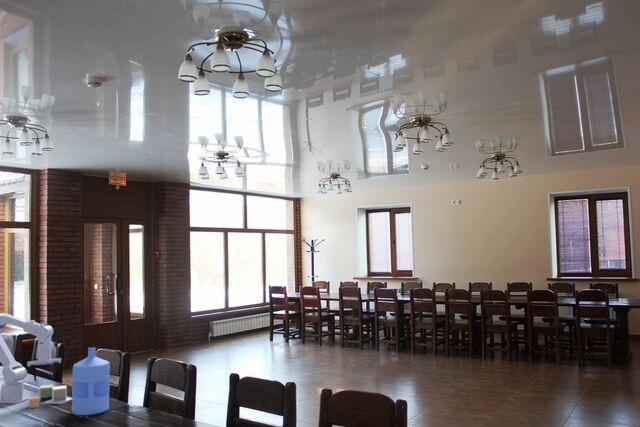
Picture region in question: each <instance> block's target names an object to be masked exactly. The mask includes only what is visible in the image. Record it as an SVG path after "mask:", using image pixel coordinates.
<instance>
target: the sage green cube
mask: <svg viewBox="0 0 640 427" xmlns="http://www.w3.org/2000/svg"><path fill="white" fill-rule="evenodd" d="M52 387H55V386H54V383H53V384H46V385H45V384H44V385H39V402H42V401H41V400H42V399H46V398H52Z"/></svg>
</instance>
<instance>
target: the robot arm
mask: <svg viewBox="0 0 640 427" xmlns="http://www.w3.org/2000/svg"><path fill="white" fill-rule="evenodd" d="M7 325H11V326H14V327H17V328H21V329H22V330H23V332H25V333H28V334H30V335H33V336H35V337H36V338H37V360H31V361H27V367H29V369H30V371H31V373H32V376H33V378H34V382H37V372H36V371H37V366H43V365H51V364H52V380H53V379H54V380H55V376H56V373H57V372H56V371H57V369H58V367H59V365H60V364H61V363H62V357H59V358H52V336H53V335H54V332H55V331H54V328H53V327H52V325H49V324H47V325H45V324H44V323H38V322H36V320H34V319H31V320H28V321H25V320H24V319H21V318H18V317H16V316H14V315H11V314H9V313H6V312H1V313H0V363H1V365H2V367H3V368H2V371H1V374H2V376H3V381H4V383H2V384H1V387H0V404H15V405H16V404H18V403H21V402H23V401H26V400H28V398H26V397H25V398H24V384H25V383H24V382H25V379H26V378H27V375H28V370H27V369H26V368H25V367H24V366H23V365H22V364H21V363H20V362H18V361H16V359H15V357H14V355H13V354H12V352H11V351H10V348H9V346H8V345H7V344H6V341H5V340H4V338H3V335H2V332H3V330H4V328H5V327H6V326H7Z"/></svg>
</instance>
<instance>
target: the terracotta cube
mask: <svg viewBox="0 0 640 427" xmlns="http://www.w3.org/2000/svg"><path fill="white" fill-rule="evenodd" d="M39 396H40V395H39ZM39 396H38V395H37V396H31V397H29V404H28V407H29V409H33V408H40V400H39Z"/></svg>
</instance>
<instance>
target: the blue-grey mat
mask: <svg viewBox="0 0 640 427" xmlns="http://www.w3.org/2000/svg"><path fill="white" fill-rule="evenodd" d="M70 401H72V397H67V398H66V401H65V398H63V399H55V400H54V402H53V403H52V399H49V400H47V401H44V404H49V405H50V404H53V405H62V404H65V403H68V402H70Z"/></svg>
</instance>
